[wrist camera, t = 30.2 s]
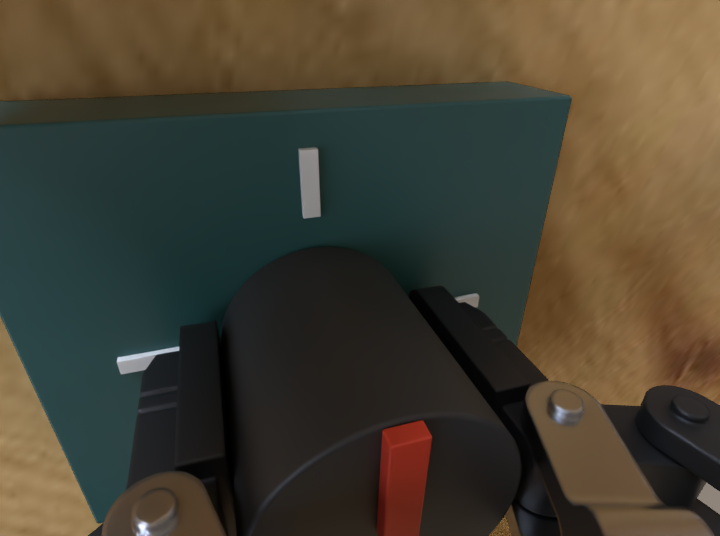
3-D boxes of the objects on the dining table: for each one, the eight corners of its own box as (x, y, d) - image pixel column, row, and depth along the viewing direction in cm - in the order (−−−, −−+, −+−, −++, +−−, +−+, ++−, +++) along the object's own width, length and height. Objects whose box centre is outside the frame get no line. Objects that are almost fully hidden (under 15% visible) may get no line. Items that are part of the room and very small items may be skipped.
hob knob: (397, 379, 13) (508, 580, 8) (232, 415, 11) (258, 673, 7) (408, 234, 10) (566, 400, 6) (206, 259, 9) (218, 489, 5)
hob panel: (111, 448, 14) (95, 531, 12) (-24, 101, 9) (-96, 132, 7) (463, 368, 17) (504, 421, 15) (508, 80, 12) (579, 97, 10)
